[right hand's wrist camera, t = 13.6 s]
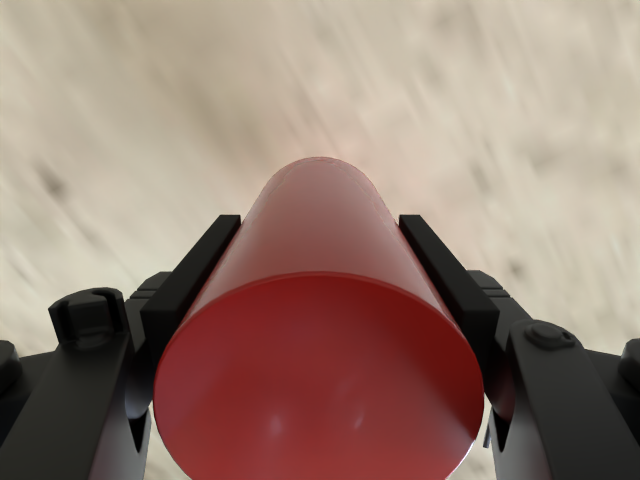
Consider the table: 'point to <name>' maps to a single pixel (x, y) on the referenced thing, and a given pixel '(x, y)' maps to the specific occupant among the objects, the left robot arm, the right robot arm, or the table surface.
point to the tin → (318, 347)
